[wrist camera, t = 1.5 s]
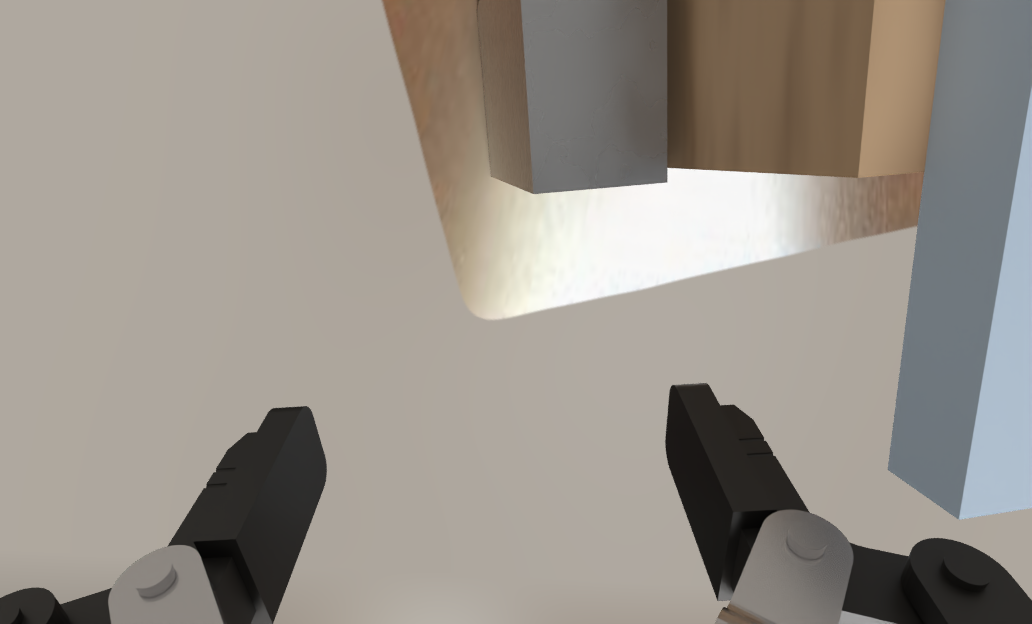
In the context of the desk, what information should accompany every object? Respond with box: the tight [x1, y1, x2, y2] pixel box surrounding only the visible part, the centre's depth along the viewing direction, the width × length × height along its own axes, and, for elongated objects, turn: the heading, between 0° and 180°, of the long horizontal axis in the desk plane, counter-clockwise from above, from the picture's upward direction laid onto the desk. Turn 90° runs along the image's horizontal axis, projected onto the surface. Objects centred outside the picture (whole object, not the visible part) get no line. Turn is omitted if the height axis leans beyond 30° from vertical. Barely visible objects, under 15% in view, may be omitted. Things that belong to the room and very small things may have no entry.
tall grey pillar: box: [477, 0, 667, 194], centre depth 33 cm, size 6×12×22 cm, turn 4°
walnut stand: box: [667, 0, 946, 178], centre depth 29 cm, size 7×10×32 cm
